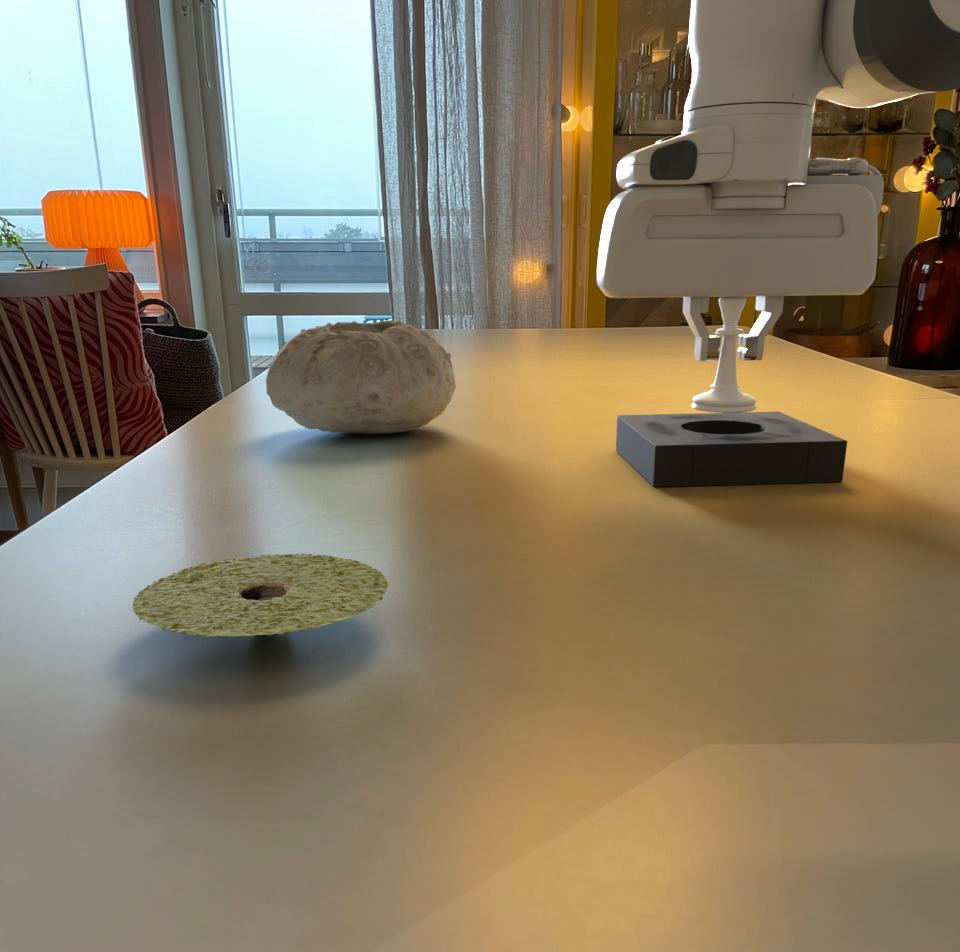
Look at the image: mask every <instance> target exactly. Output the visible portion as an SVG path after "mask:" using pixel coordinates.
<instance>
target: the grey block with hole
mask: <svg viewBox="0 0 960 952" xmlns="http://www.w3.org/2000/svg"><path fill="white" fill-rule="evenodd" d="M615 437H616V438H615V439H616V440H615V451H616V452H617V453H618V455H620V456H621V457H622V458H623V459H624V460H625V461H626V462H627V463H628V464H629V465H630V466H631V467H632V468H633V469H634V470H636V472H638V474H639V475H641V477H642V478H644V479H645V480H646V481H647V482H648V484H650V485H651V486H652V487H653V488H667V487H668V488H669V487H705V486H707V487H708V486H744V485H745V486H747V485H778V484H779V485H780V484H781V485H782V484H784V485H785V484H810V483H811V484H813V483H814V484H815V483H842V482H843V478H844V471H845V464H846V457H847V455H846V454H847V448H848V440H847V439H843V438H842V437H839V436H838V435H837V436H836V435H834V434H832V433H830V432H827V431H826V430H823V429H821V428H818V427H816V426H813V425H812V424H809V423H807V422H804V421H802V420H800V419H797V418H795V417H793V416H791V415H788V414H786V413H783V412H781V411H748V412H737V413H721V412H698V413H696V412H695V413H659V414H654V413H653V414H652V413H651V414H620V415H619V414H618V415H617V416H616V436H615Z"/></svg>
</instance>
